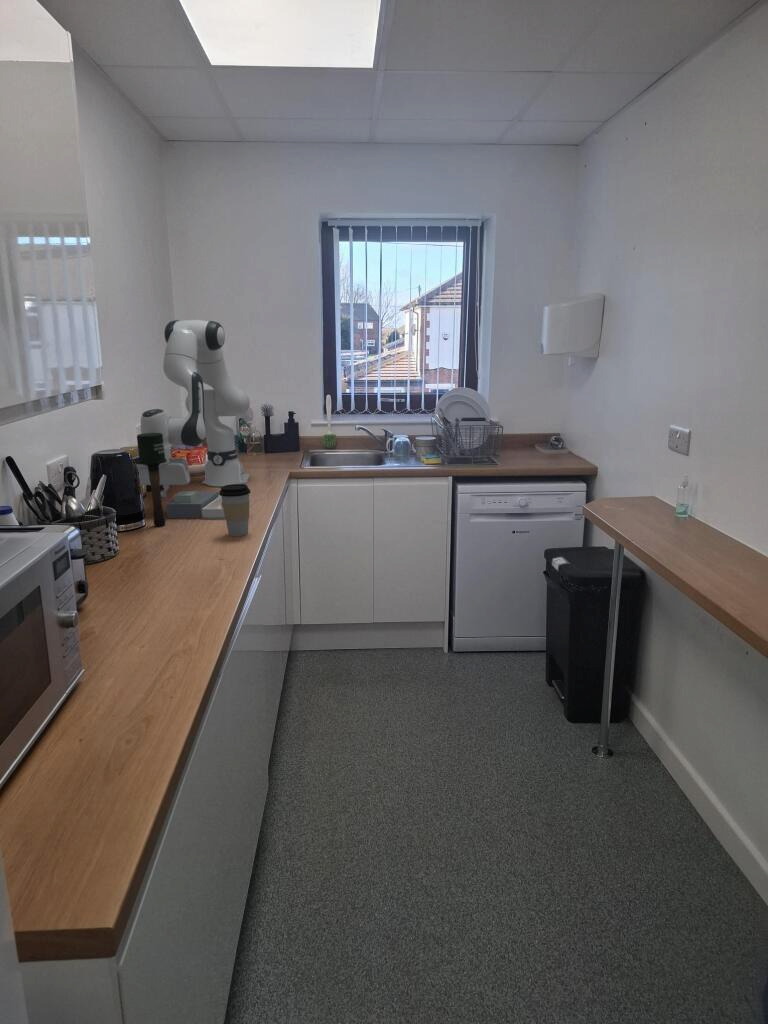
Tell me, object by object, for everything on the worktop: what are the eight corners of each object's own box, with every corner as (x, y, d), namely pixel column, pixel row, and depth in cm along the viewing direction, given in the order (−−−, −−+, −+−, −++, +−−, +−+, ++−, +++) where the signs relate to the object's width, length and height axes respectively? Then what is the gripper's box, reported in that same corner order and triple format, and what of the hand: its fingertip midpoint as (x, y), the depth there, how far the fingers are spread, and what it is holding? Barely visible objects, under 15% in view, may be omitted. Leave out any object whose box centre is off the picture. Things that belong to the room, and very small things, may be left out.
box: (221, 504, 245) (220, 495, 244) (248, 504, 244) (247, 495, 243) (202, 519, 225) (201, 509, 224) (231, 519, 224) (230, 509, 224)
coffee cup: (259, 530, 210) (255, 484, 206) (243, 539, 202) (239, 490, 198) (233, 528, 213) (229, 482, 209) (216, 536, 205) (212, 489, 201)
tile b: (181, 498, 234) (180, 491, 233) (197, 498, 233) (196, 491, 233) (174, 502, 228) (173, 495, 227) (191, 502, 227) (190, 495, 227)
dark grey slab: (187, 505, 245) (186, 491, 244) (219, 505, 244) (218, 491, 242) (167, 518, 227) (166, 504, 226) (202, 518, 226) (200, 504, 225)
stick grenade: (165, 529, 214) (154, 436, 206) (140, 528, 216) (129, 436, 208) (178, 522, 222) (168, 432, 214) (154, 521, 224) (144, 432, 216)
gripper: (190, 456, 230) (194, 495, 233) (133, 456, 231) (138, 495, 235) (183, 459, 224) (188, 499, 227) (125, 459, 225) (130, 499, 229)
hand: (162, 497), depth 231 cm, fingers closed
